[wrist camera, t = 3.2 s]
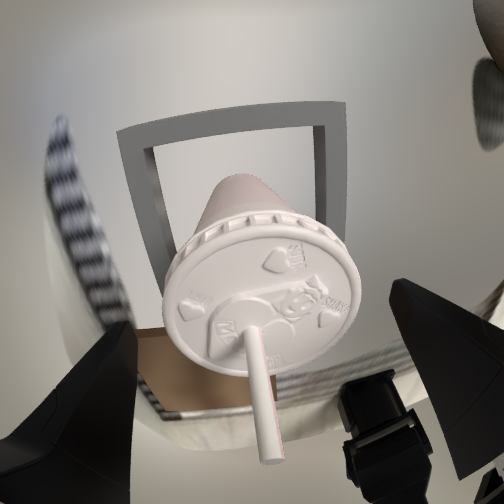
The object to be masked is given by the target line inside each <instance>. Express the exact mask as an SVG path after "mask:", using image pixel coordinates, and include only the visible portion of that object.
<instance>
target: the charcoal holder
mask: <svg viewBox="0 0 504 504" xmlns="http://www.w3.org/2000/svg"><path fill="white" fill-rule="evenodd" d="M298 126H313V136H314V159H315V197H316V221H318V222H319V223H321V224H323V225H325V226H327V227H328V228H330V229H331V230H332V231H333V233H334V234H335V235H336V236H337V237H338V238H339V239H340V240H341V241H342V242H343V243H344V239H345V221H346V196H347V127H346V103H345V102H334V101H304V102H283V103H269V104H257V105H246V106H238V107H229V108H222V109H215V110H208V111H202V112H196V113H190V114H185V115H179V116H174V117H170V118H165V119H160V120H155V121H151V122H147V123H143V124H139V125H135V126H131V127H128V128H125V129H122V130H119V131H117V132H116V133H117V137H118V143H119V147H120V152H121V157H122V161H123V166H124V170H125V174H126V179H127V182H128V187H129V191H130V194H131V198H132V202H133V205H134V209H135V213H136V217H137V220H138V224H139V227H140V231H141V234H142V237H143V240H144V243H145V247H146V250H147V253H148V256H149V259H150V263H151V266H152V268H153V272H154V275H155V278H156V280H157V283H158V286H159V289H160V292H161V294H162V297H163V296H164V286H165V276H166V274H167V272H168V270H169V268H170V265H171V263H172V261H173V259H174V257H175V255H176V254H177V251H176V248H175V244H174V240H173V236H172V232H171V228H170V224H169V220H168V216H167V212H166V208H165V203H164V199H163V195H162V190H161V186H160V181H159V176H158V171H157V167H156V162H155V157H154V152H153V147H154V146H158V145H163V144H168V143H173V142H178V141H184V140H189V139H195V138H201V137H207V136H213V135H220V134H227V133H235V132H243V131H252V130H261V129H272V128H284V127H298Z"/></svg>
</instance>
